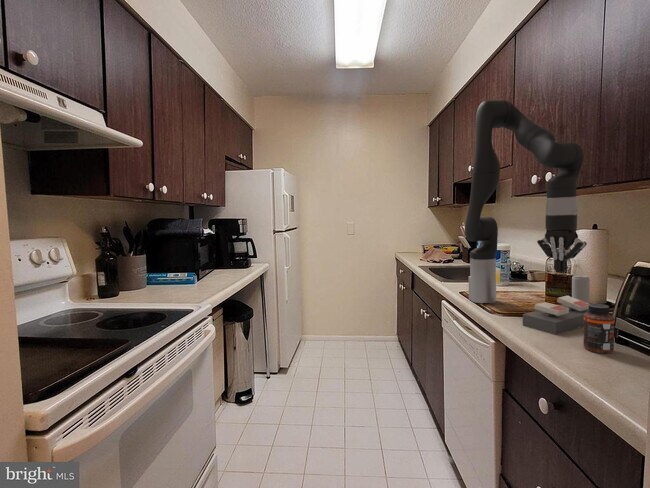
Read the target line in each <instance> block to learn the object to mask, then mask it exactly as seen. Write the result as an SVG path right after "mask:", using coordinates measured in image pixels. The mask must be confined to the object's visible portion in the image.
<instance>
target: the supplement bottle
mask: <svg viewBox="0 0 650 488" xmlns="http://www.w3.org/2000/svg"><path fill="white" fill-rule="evenodd" d="M588 309H589V312H586V313H585V314H584V326H583V347H584V349H586V350H588V351H589V352H593V353H596V354H605V355H607V354H611V353H613V352H614V349H615V317H614V316H613V315H612V314H611V313H610V306H609V305H606V304H604V303H603V304H601V303H589V308H588Z"/></svg>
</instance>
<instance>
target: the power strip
mask: <svg viewBox="0 0 650 488" xmlns="http://www.w3.org/2000/svg"><path fill="white" fill-rule="evenodd" d="M557 305H558V306H562V307H566V308H569V313H567V314H563V315H559V316H557V315H554V314H550V313H547V312H543V311H540V310H534V311H531V312H530V311H529V312H526V313H523V314H522V326H524V327H528V328H531V329H534V330H535V329H536V330H537V331H541V332H545V333H548V334H551V335H555V336H556V335H560V334H563V333H567V332H569V331H572V330H573V331H574V330H576V329H579V328H584V314H585V313H586V312H589V309H587V310H583V311H578V310H576V309H573V308H571V307H568V306H566V305H564V304H557Z"/></svg>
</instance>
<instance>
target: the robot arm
mask: <svg viewBox="0 0 650 488" xmlns="http://www.w3.org/2000/svg"><path fill="white" fill-rule="evenodd" d="M501 128H503V129H506V130H509V131H511V132H513V133H514V136H515V140H516V141H517V143H518V144H519V145H521V146H522V147H523V148H524V149H526V150H528V152H531V153H532V154H533V156H534V157H535V159H536V160H537V161H538V162H539V164H541V165H542V166H544V167H546V168H549V169H558V171H557V174H556V176H554V177H551V178H550V179H548V181H547V182H546V201H545V230H546V231H545V234H544V237H543V238H541V239H538V240H537V241H536V242H537V244H538V246H539V247H540V249H541V250H542V251H543V253H544V254H545V255H546V256H547V257H548V258H551V259H553V270H554V271H555V273H556V274H564V273H565V272H567V270H568V260H569V259H575V258H576V257H577V256H578V255H579V253H581V251H583V249H584V248H585V247H586V246H587V244H588V243H587V242H586V241H583V240H582V239H580V238H579V235H578V233H577V230H578V212H579V211H578V199H577V187H578V186H577V183H578V179H579V178H580V177H579V175H580V173H581V169H582V167H583V164H584V163H583V162H584V157H585V156H584V155H585V153H584V150H583V147H582V146H581V145H580V144H579V143H576V142H557V141H556V136H555V135H554V134H553V133H552V132H550V131H549V130H547V129H545V128H544V127H542V126H540V125H538V124H537V123H535V122H534V121H533V120H530V119H529V118H528V117H527V116H526V115H525V114H524V113H523V112H522V111H520V110H519V109H518V108H517V106H515V105H514V104H513V103H512V102H510V101H508V100H505V99H497V100H495V99H494V100H493V99H491V100H484V101H482V102H481V103H480V104H479V106H478V107H477V111H476V115H475V143H474V144H475V145H474V156H473V158H474V159H473V167H472V174H471V188H470V195H469V201H468V202H469V203H468V209H467V213H466V219H465V223H464V224H465V225H464V235H465V238H466V240H467V241H468V242H481V244H480V245H479V246H478V247H476V248H474V249H472V250H471V251H470V252H469V271H470V272H469V273H470V274H469V275H470V276H468V300H469V301H471V302H472V303H476V304H477V303H478V304H483V303H490V304H494V303H497V262H496V261H497V259H496V257H497V251H498V234H499V233H498V223H497V220H496V219H495V218H494V217H492V216H488V217H486V216H484V217H481V215H482V211H483V209H484V206H485V204H487V201H488V200H489V199H490V198H491V196H492V195H493V194H494V192H495V190H496V189H497V187H498V185H499V182H500V174H501V164H500V163H501V162H500V161H499V157H498V156H497V153H496V151H495V149H494V146H493V140H492V139H493V129H501ZM572 246H573V247H572ZM571 247H572V248H571Z"/></svg>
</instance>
